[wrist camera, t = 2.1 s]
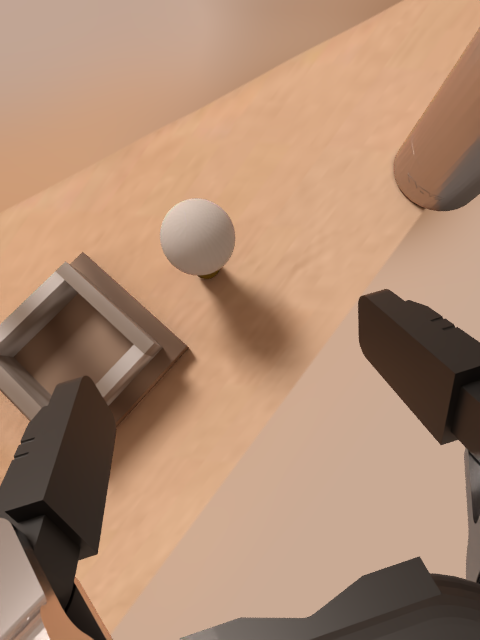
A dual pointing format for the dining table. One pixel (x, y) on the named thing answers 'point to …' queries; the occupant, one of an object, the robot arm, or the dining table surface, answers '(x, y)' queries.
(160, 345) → the frame
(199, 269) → the light bulb
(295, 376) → the dining table surface
